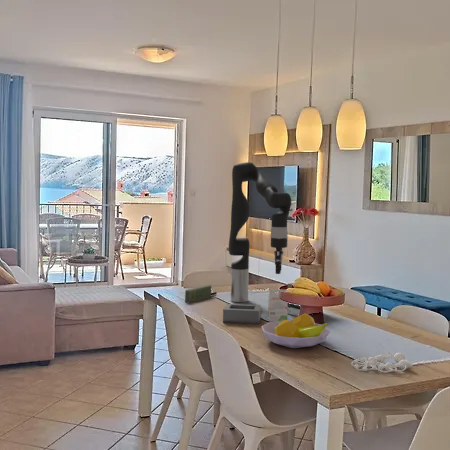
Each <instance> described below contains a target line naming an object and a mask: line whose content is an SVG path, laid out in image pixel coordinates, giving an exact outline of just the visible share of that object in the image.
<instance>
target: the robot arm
mask: <svg viewBox="0 0 450 450" xmlns="http://www.w3.org/2000/svg"><path fill="white" fill-rule="evenodd" d="M231 181H232V186H231V187H232V194H231V195H232V198H231V200H232V201H231V211H230V232H229V241H228V253H229V255H230V256H237V257H239V256H240V259H237V260H236V261H233V262H231V264H230V265H231V266H230V268H231V269H230V301H231V302H234V303H246V302H248V301H249V266H250V265H249V263H250V249H251V248H250V240H249V238H245V237H237V236H238V234H239V232H240V231H241V229H242V228H244V226H245V224H246V223H247V222H248V220H249V219H250V208H251V205H250V201H248V198H247V197H246V196H245V194H244V191H243V183H244V182H245V183H247V182H250V181H253V182H255V189H256V191H257V192H258V194H259V195H261V196H262V197H263V198H264V199H265V202H266V203H267V205H268V206H269V207H271V208H272V209H279V211H278V212H276V213H274V214H272V215H271V228H270V247H271V248H273V249H274V248H275V250H274V252H273V253H274V265H275V274H276V275H281V273H282V262H283V260H284V250H283V249H285V248H288V216H289V213H290V209H291V206H292V197H291V195H290V194H289V193H288V192H279V190H278V188H277V187H276V186H275V185H273V183H271V182H270V181H268V179H266V177H265V176H264V175H263V173H262V172H261V171H260V170H259V169H258V167H257V165H255V164H254V163H253V162H250V161H249V162H248V161H247V162H239V163H236V164H234V165H233V166H232V170H231ZM241 256H242V257H241Z"/></svg>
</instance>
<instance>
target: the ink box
mask: <svg viewBox="0 0 450 450" xmlns="http://www.w3.org/2000/svg"><path fill="white" fill-rule="evenodd" d="M285 291H287V289H279V288H276V289H275V288H273V289H271V288H270V289H269V291H268V292H269V293H268V315H267V316H268V322H274V321H283V320H288V313H287V309H288V303H287V302H284V301H282V300H281V299H280V298H279V293H281V292H285ZM277 292H279V293H277Z"/></svg>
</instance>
